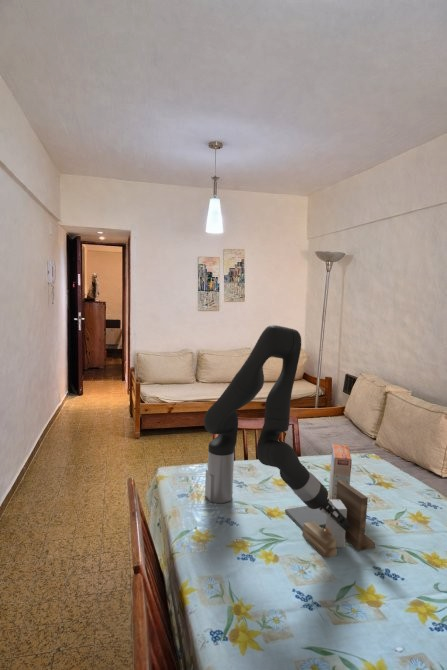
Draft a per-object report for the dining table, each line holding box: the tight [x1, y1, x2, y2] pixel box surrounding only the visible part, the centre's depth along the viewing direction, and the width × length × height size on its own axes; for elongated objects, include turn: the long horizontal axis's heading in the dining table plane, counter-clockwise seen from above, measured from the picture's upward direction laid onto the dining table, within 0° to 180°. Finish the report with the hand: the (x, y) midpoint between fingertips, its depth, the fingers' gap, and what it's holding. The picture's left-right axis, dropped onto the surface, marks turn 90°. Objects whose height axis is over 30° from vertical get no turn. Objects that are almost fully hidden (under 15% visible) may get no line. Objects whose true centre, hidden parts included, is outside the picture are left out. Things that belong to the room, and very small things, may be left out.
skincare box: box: [324, 500, 347, 548], centre depth 128 cm, size 6×4×12 cm
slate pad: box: [284, 505, 326, 531], centre depth 142 cm, size 12×12×1 cm
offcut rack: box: [301, 480, 376, 559], centre depth 128 cm, size 18×12×16 cm
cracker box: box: [328, 443, 353, 500], centre depth 148 cm, size 14×6×21 cm, turn 168°
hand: (340, 521), depth 129 cm, fingers closed on skincare box, 6 cm apart
